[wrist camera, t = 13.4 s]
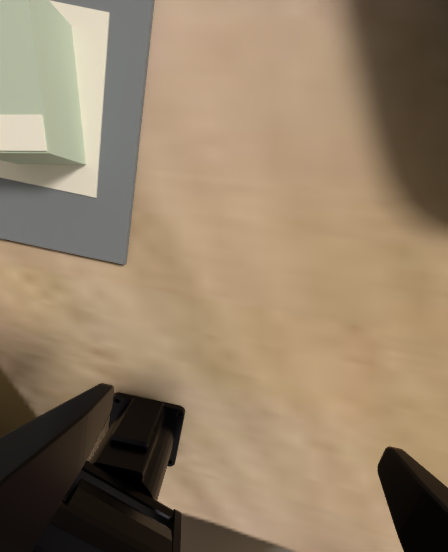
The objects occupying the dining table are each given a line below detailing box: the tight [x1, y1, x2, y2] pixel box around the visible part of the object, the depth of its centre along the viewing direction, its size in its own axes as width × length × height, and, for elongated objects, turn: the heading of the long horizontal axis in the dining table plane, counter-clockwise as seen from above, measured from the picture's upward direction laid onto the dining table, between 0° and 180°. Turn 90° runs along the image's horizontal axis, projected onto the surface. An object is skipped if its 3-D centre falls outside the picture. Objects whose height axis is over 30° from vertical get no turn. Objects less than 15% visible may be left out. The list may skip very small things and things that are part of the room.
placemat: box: [0, 0, 154, 265], centre depth 17 cm, size 20×13×1 cm, turn 168°
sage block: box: [0, 0, 86, 165], centre depth 15 cm, size 5×8×4 cm, turn 179°
